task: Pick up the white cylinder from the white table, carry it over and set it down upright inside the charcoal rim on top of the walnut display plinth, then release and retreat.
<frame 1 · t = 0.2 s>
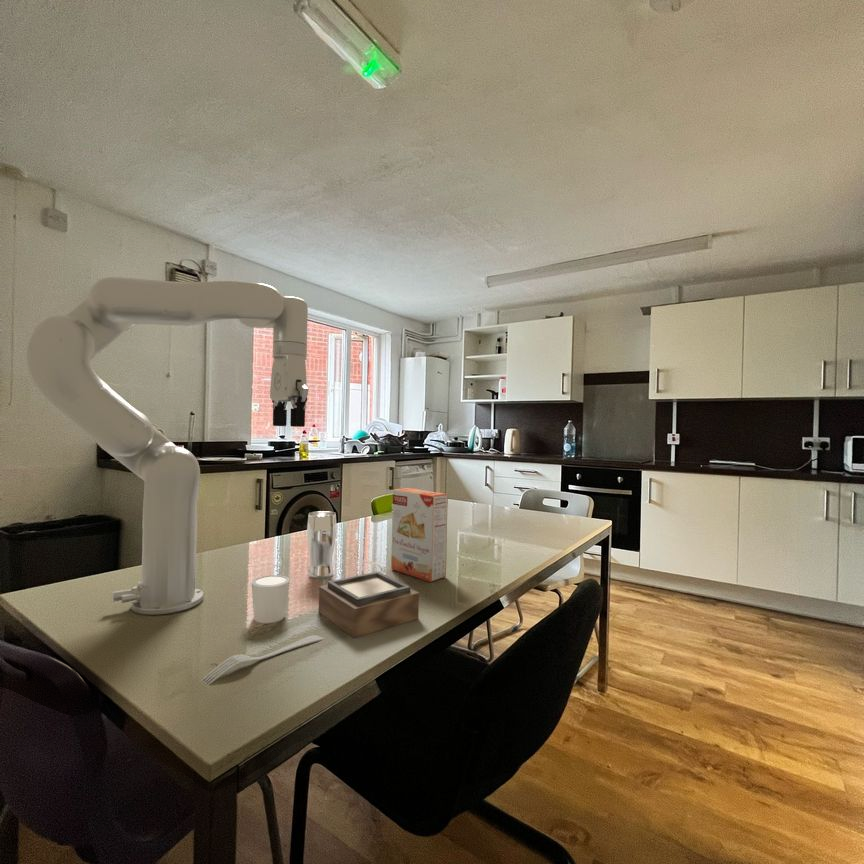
hand: (288, 426, 108), 36 cm above the table, tool pointing down, fingers open, 9 cm apart
beer glass: (320, 575, 115), on the table
cracker box: (417, 574, 117), on the table
display plinth: (367, 615, 91), on the table
white cylinder: (269, 618, 89), on the table
fork: (267, 661, 73), on the table
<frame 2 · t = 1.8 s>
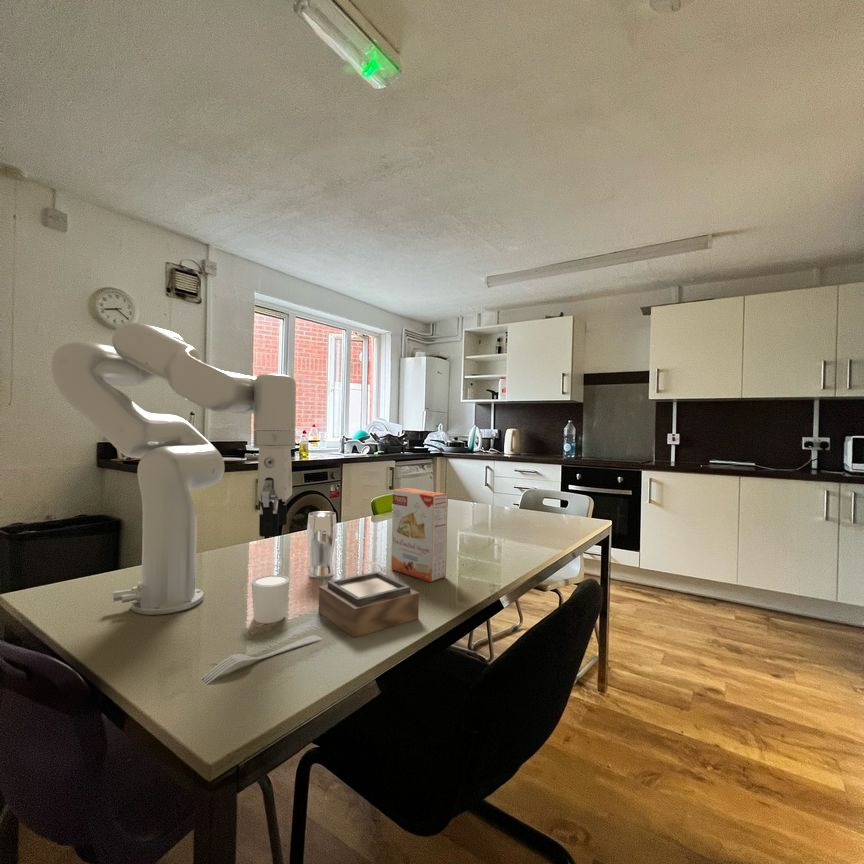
hand: (273, 530, 88), 16 cm above the table, tool pointing down, fingers open, 9 cm apart
nothing on the table moved.
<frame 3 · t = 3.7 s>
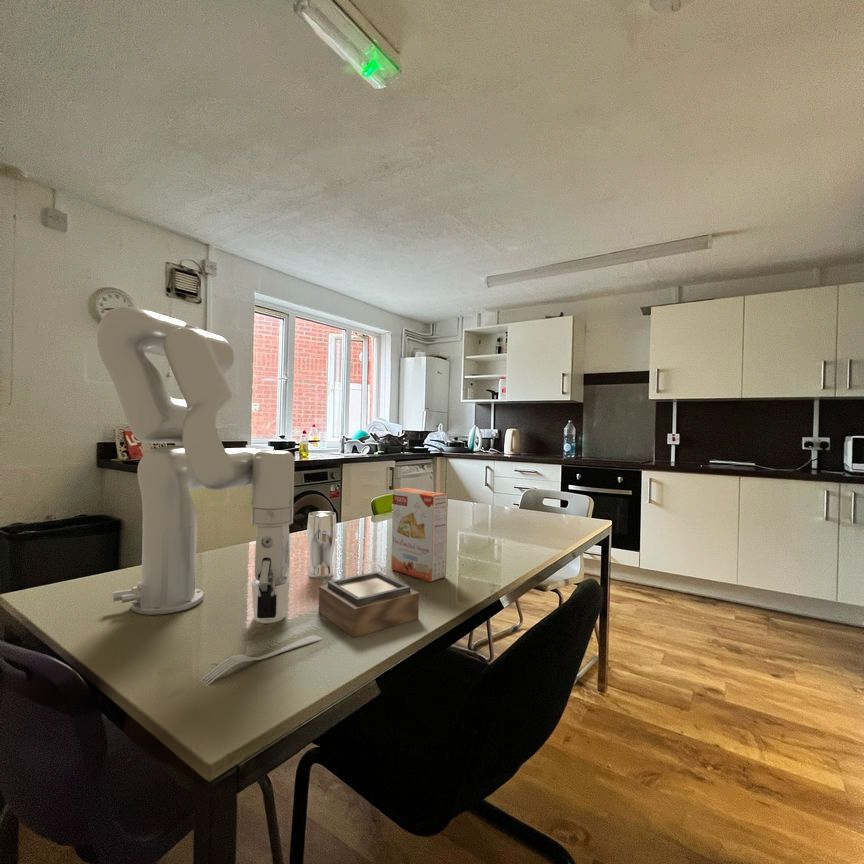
hand: (270, 608, 89), 2 cm above the table, tool pointing down, fingers closed on white cylinder, 6 cm apart
white cylinder: (270, 617, 89), on the table, touching gripper
everything else where it was.
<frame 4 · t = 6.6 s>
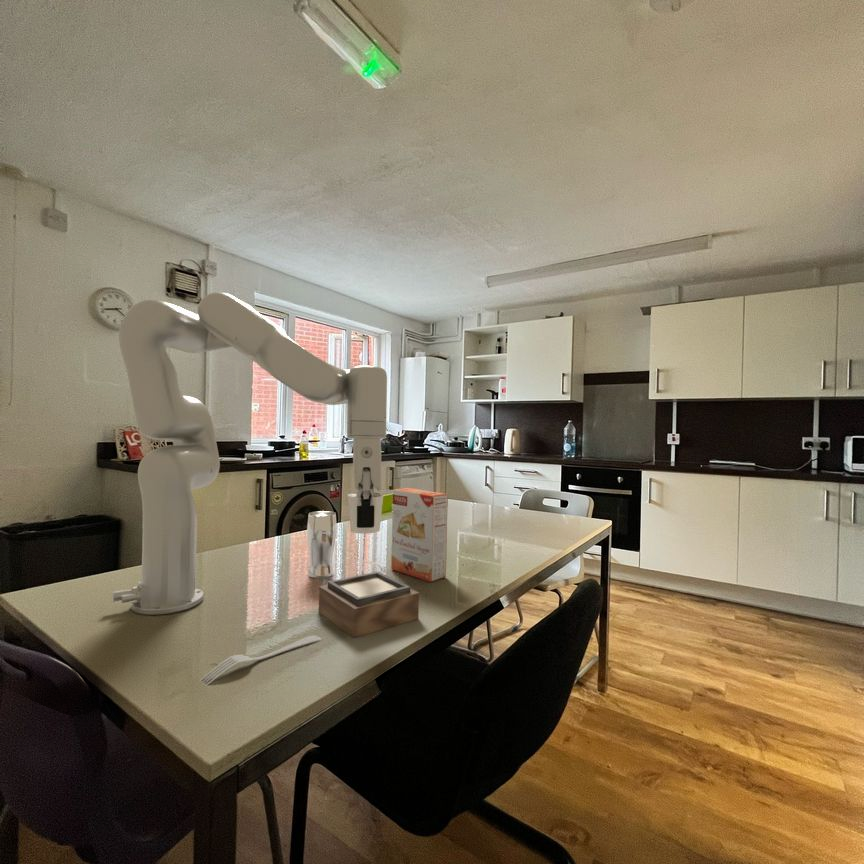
hand: (365, 522, 90), 18 cm above the table, tool pointing down, fingers closed on white cylinder, 6 cm apart
white cylinder: (365, 531, 90), point 16 cm above the table, touching gripper
everything else where it was.
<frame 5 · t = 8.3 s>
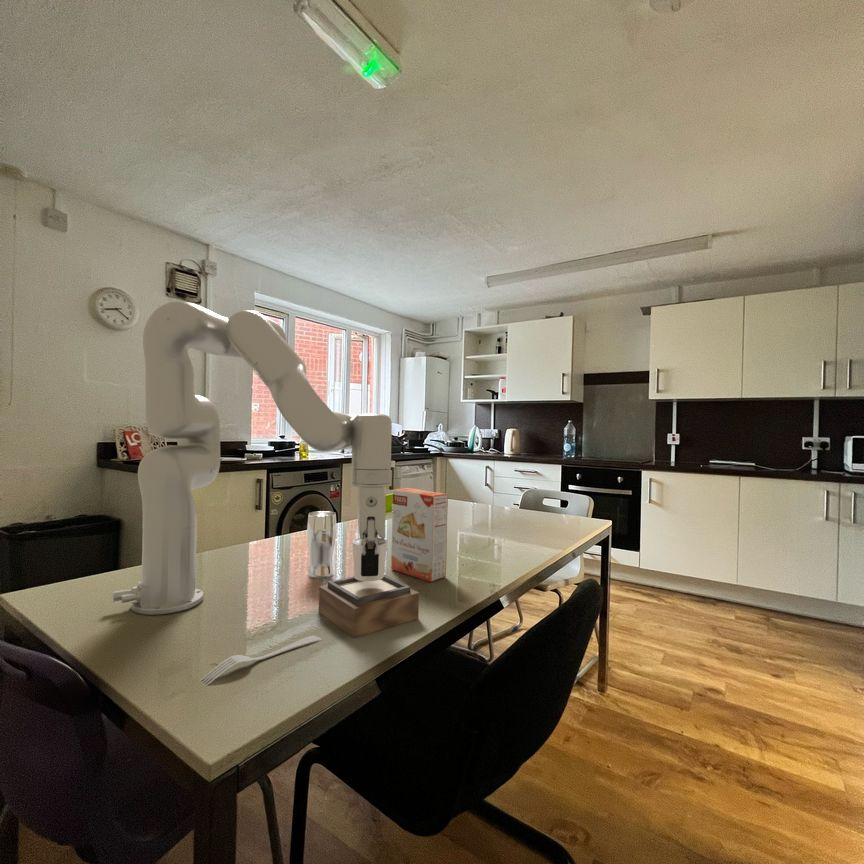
hand: (369, 568, 91), 9 cm above the table, tool pointing down, fingers closed on white cylinder, 6 cm apart
white cylinder: (368, 577, 91), point 7 cm above the table, touching gripper
everything else where it was.
when the fingers open (8 cm above the table, at t = 9.5 s): white cylinder drops 1 cm, resting on display plinth.
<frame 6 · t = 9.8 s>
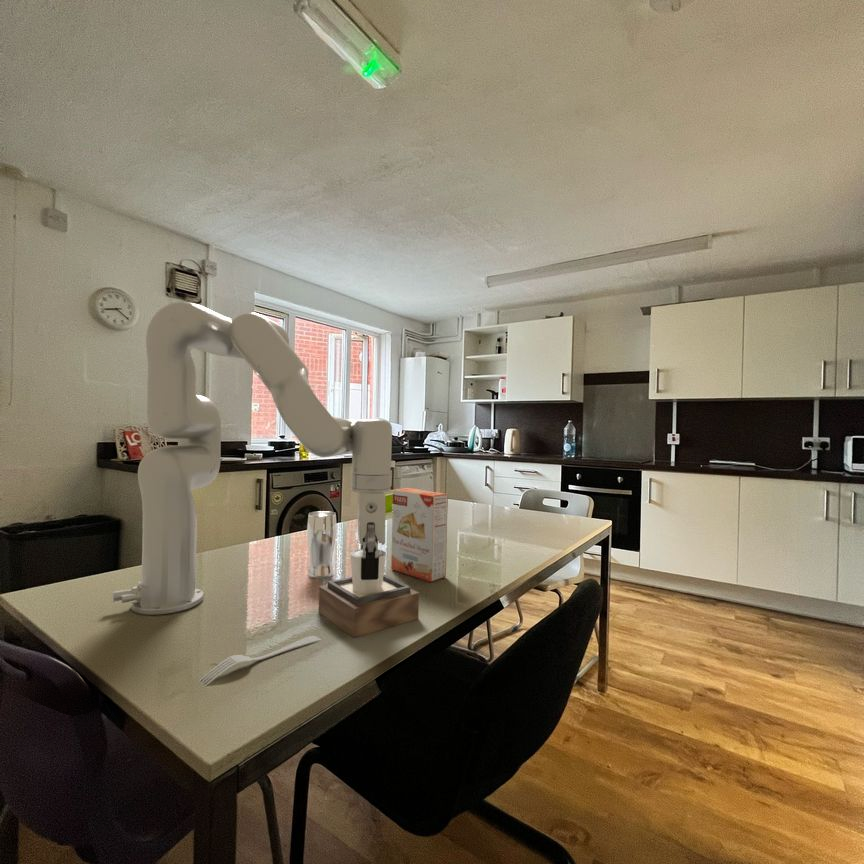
hand: (368, 571, 91), 9 cm above the table, tool pointing down, fingers open, 9 cm apart
white cylinder: (367, 589, 90), point 5 cm above the table, touching display plinth
everything else where it was.
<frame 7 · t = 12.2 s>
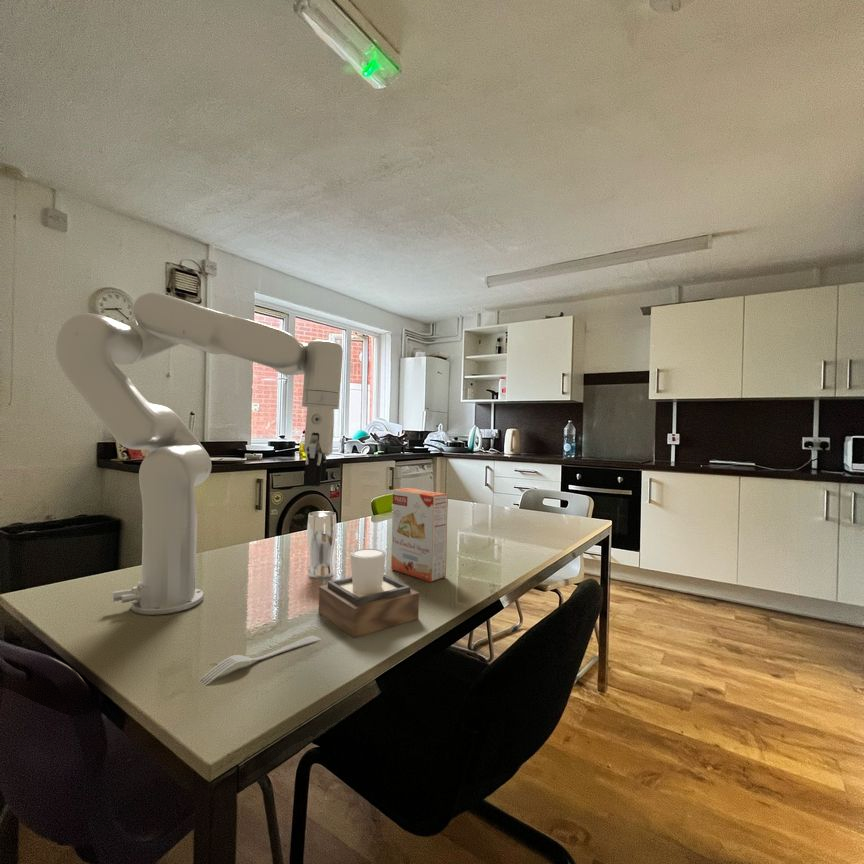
hand: (314, 482, 97), 25 cm above the table, tool pointing down, fingers open, 9 cm apart
nothing on the table moved.
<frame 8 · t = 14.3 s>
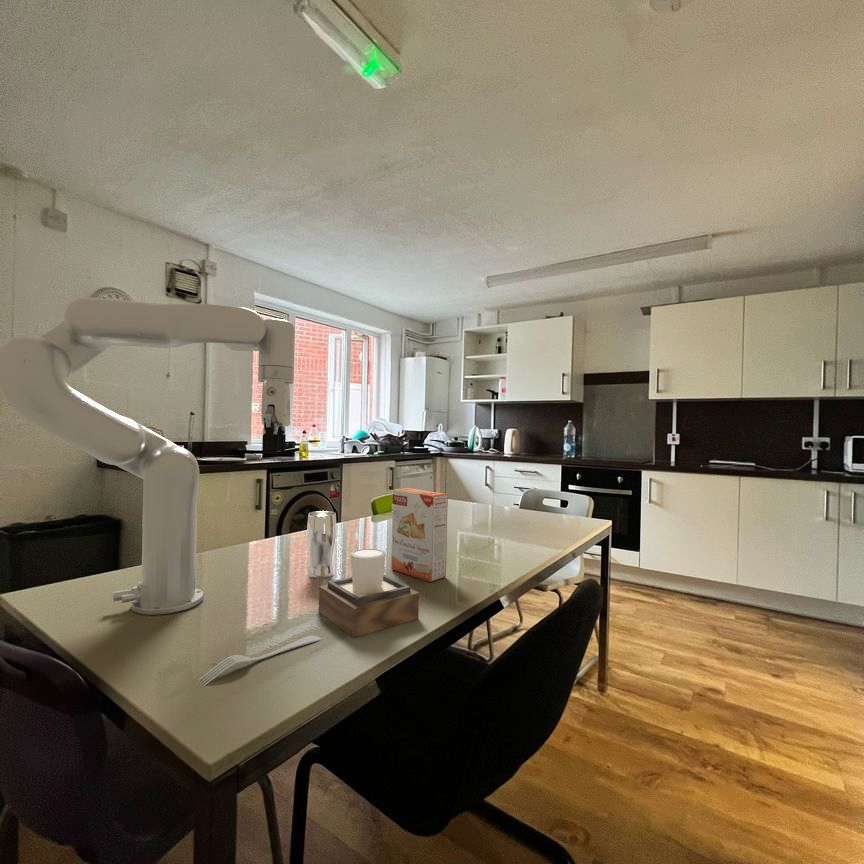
hand: (274, 452, 105), 30 cm above the table, tool pointing down, fingers open, 9 cm apart
nothing on the table moved.
at the end: white cylinder 0.3 cm off-centre on the display plinth, point 5.0 cm above the display plinth's base; white cylinder tilted 0°; the gripper is holding nothing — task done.
